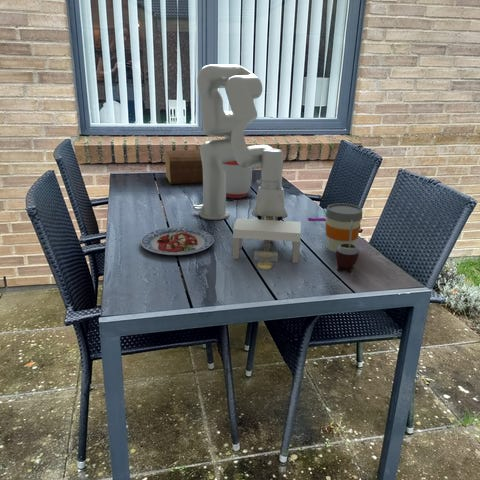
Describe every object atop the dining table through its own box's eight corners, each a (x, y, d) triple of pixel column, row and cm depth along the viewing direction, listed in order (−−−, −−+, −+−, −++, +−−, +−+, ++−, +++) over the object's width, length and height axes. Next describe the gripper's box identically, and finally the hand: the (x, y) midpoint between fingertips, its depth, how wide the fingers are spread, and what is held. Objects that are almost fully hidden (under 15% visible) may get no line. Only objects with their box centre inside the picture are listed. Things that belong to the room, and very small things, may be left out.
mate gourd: (342, 275, 148) (347, 230, 142) (328, 265, 154) (332, 222, 149) (361, 271, 150) (367, 227, 145) (347, 262, 157) (352, 219, 151)
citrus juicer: (261, 196, 226) (262, 155, 219) (230, 201, 217) (231, 159, 209) (242, 188, 238) (243, 149, 230) (213, 193, 229) (213, 152, 221)
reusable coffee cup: (331, 256, 161) (336, 215, 155) (316, 243, 172) (320, 204, 166) (364, 253, 164) (370, 213, 158) (347, 240, 175) (352, 202, 170)
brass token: (255, 269, 151) (256, 266, 150) (258, 263, 155) (258, 260, 155) (271, 271, 150) (271, 268, 149) (273, 265, 154) (273, 261, 154)
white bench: (232, 258, 157) (233, 229, 154) (236, 246, 168) (237, 218, 164) (298, 262, 155) (300, 233, 152) (298, 250, 166) (300, 222, 162)
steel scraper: (253, 260, 157) (254, 226, 152) (258, 237, 176) (259, 206, 172) (277, 261, 156) (279, 227, 152) (279, 238, 175) (281, 208, 171)
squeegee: (303, 207, 207) (326, 208, 208) (303, 211, 208) (325, 211, 209) (315, 232, 181) (341, 232, 182) (315, 236, 182) (340, 236, 182)
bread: (226, 182, 250) (226, 152, 244) (170, 185, 242) (169, 154, 236) (218, 174, 266) (218, 145, 260) (165, 176, 258) (164, 147, 252)
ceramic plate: (134, 237, 174) (133, 229, 173) (200, 229, 184) (200, 221, 182) (150, 264, 152) (149, 256, 151) (224, 253, 162) (224, 245, 161)
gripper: (247, 185, 163) (245, 234, 170) (294, 188, 162) (290, 237, 169) (249, 180, 170) (247, 227, 177) (294, 182, 169) (291, 230, 176)
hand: (268, 232), depth 173 cm, fingers closed on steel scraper, 2 cm apart
